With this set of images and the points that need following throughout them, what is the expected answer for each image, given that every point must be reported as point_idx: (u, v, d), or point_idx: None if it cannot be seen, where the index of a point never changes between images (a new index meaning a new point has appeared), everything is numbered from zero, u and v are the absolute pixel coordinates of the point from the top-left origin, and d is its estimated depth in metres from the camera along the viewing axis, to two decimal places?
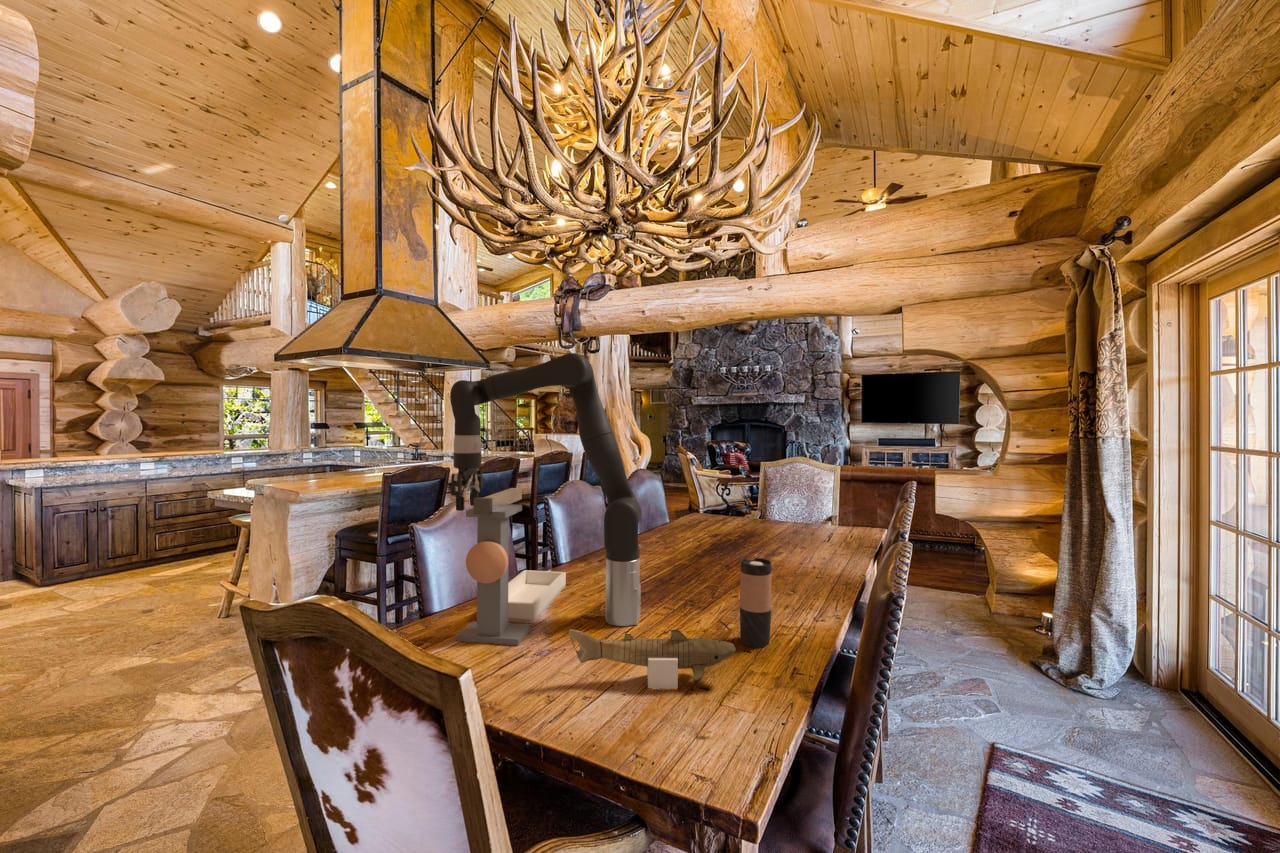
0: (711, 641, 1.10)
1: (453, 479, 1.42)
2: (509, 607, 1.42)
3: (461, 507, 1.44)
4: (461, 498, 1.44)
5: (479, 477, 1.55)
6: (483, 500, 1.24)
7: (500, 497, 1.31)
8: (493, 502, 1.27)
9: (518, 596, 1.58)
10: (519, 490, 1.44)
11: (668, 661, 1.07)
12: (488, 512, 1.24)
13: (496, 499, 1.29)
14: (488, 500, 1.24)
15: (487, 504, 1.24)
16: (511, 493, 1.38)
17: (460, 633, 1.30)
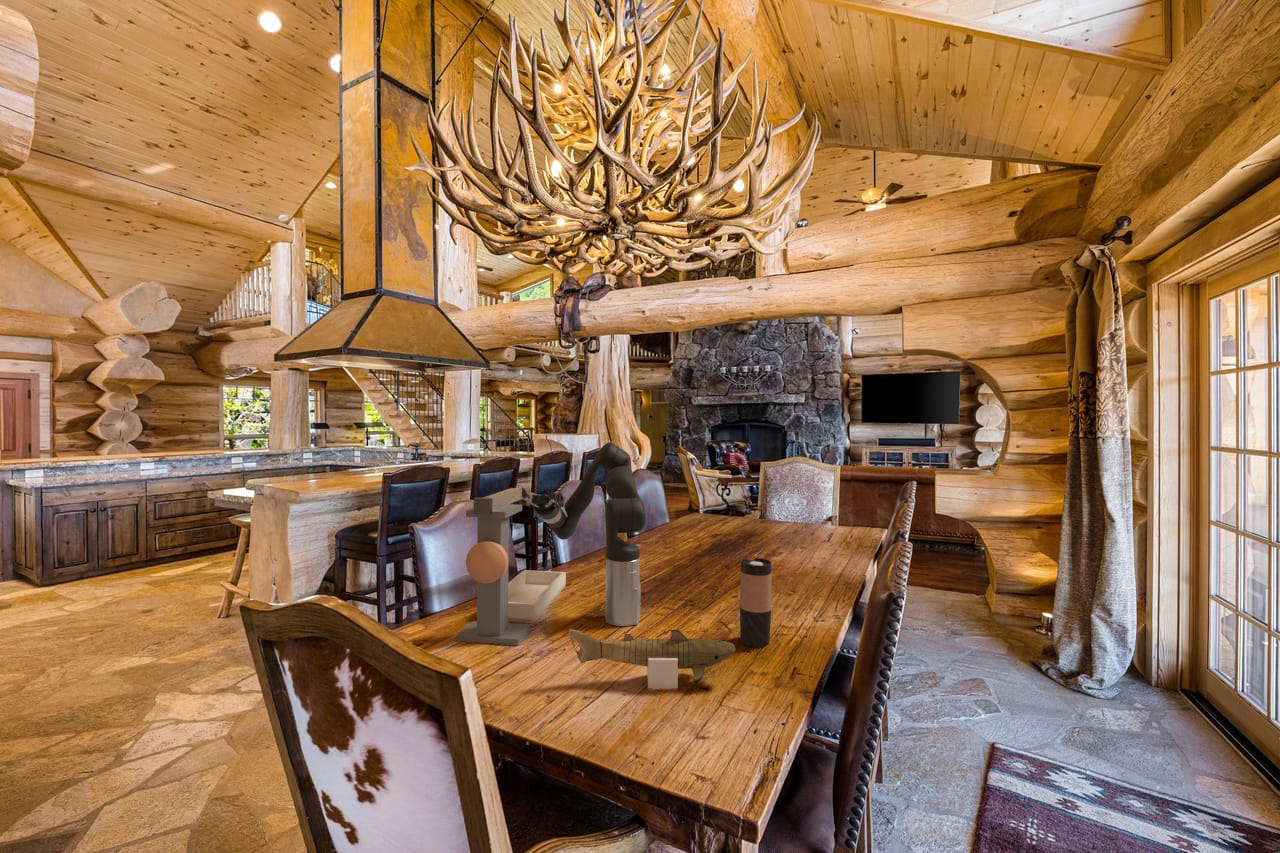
0: (711, 641, 1.10)
1: None
2: (509, 607, 1.42)
3: None
4: None
5: None
6: (483, 500, 1.24)
7: (500, 497, 1.31)
8: (493, 502, 1.27)
9: (518, 596, 1.58)
10: (519, 490, 1.44)
11: (668, 661, 1.07)
12: (488, 512, 1.24)
13: (496, 499, 1.29)
14: (488, 500, 1.24)
15: (487, 504, 1.24)
16: (511, 493, 1.38)
17: (460, 633, 1.30)
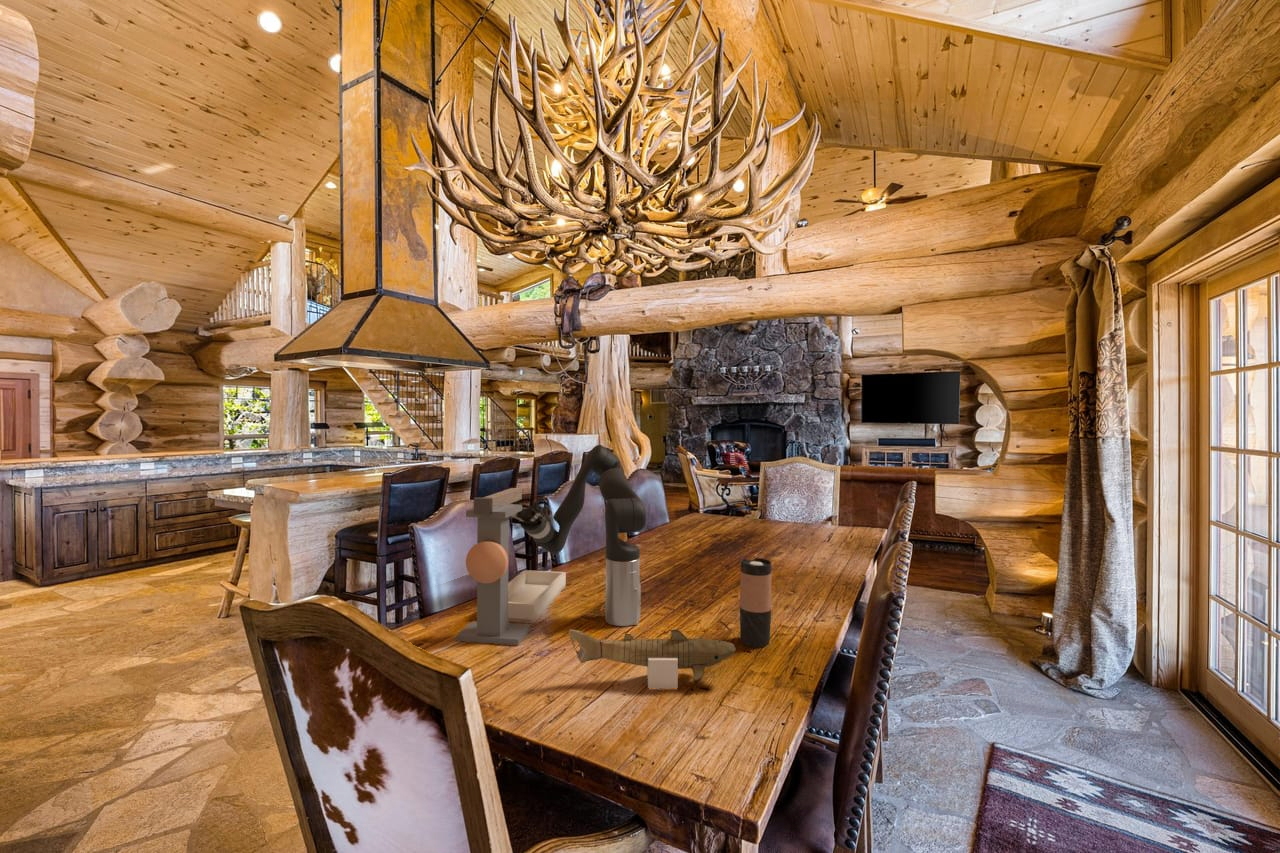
0: (711, 641, 1.10)
1: None
2: (509, 607, 1.42)
3: None
4: None
5: None
6: (483, 500, 1.24)
7: (500, 497, 1.31)
8: (493, 502, 1.27)
9: (518, 596, 1.58)
10: (519, 490, 1.44)
11: (668, 661, 1.07)
12: (488, 512, 1.24)
13: (496, 499, 1.29)
14: (488, 500, 1.24)
15: (487, 504, 1.24)
16: (511, 493, 1.38)
17: (460, 633, 1.30)
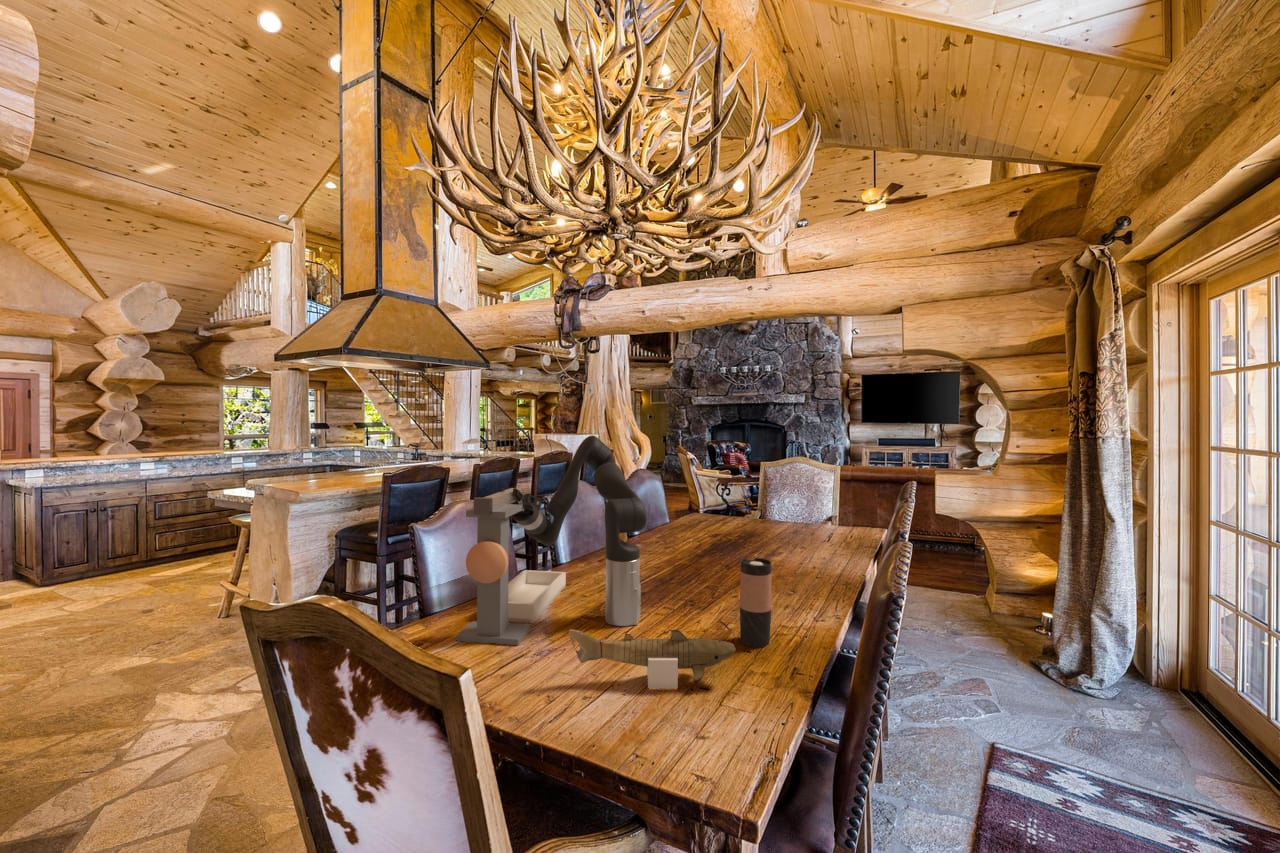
0: (711, 641, 1.10)
1: None
2: (509, 607, 1.42)
3: None
4: None
5: None
6: (483, 500, 1.24)
7: (500, 497, 1.31)
8: (493, 502, 1.27)
9: (518, 596, 1.58)
10: (519, 490, 1.44)
11: (668, 661, 1.07)
12: (488, 512, 1.24)
13: (496, 499, 1.29)
14: (488, 500, 1.24)
15: (487, 504, 1.24)
16: (511, 493, 1.38)
17: (460, 633, 1.30)
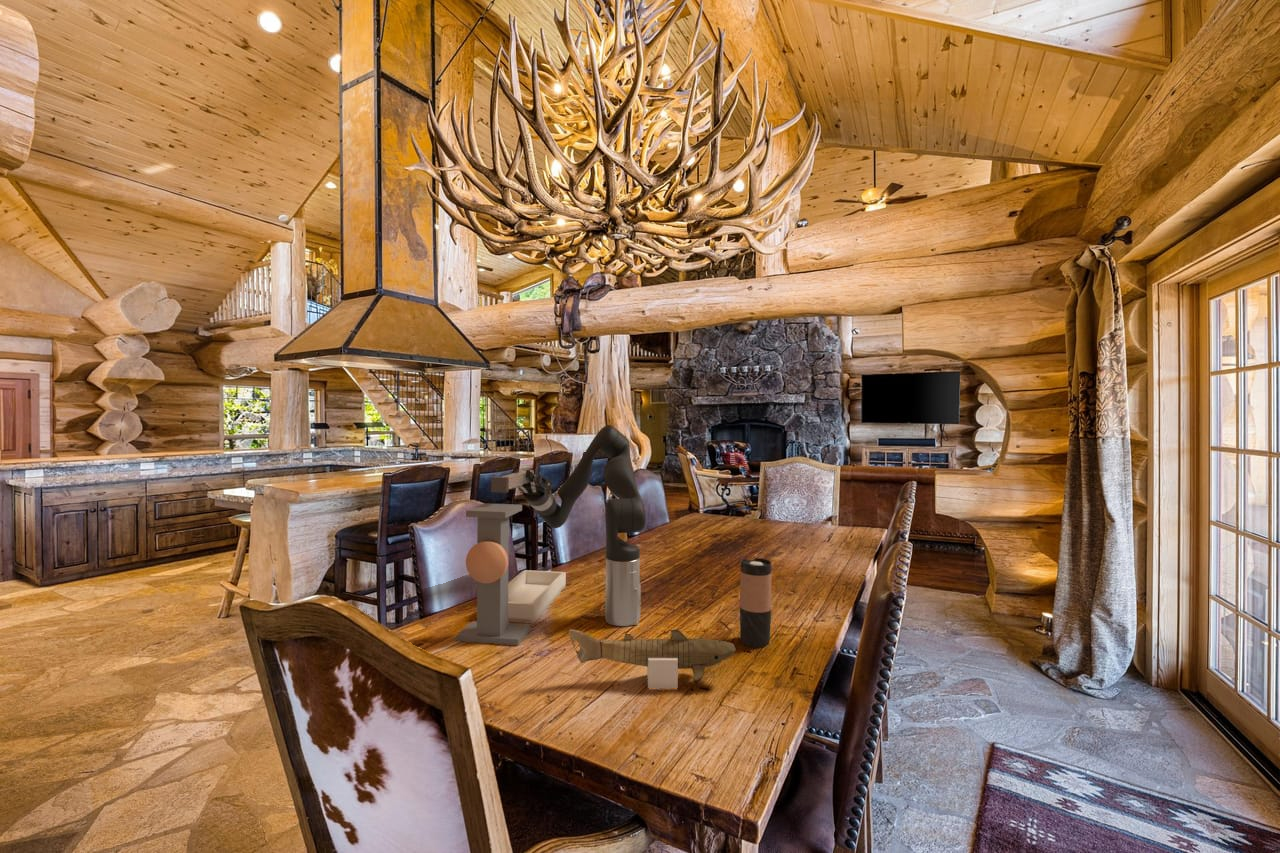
0: (711, 641, 1.10)
1: None
2: (509, 607, 1.42)
3: None
4: None
5: None
6: (500, 479, 1.34)
7: (515, 477, 1.41)
8: (509, 481, 1.37)
9: (518, 596, 1.58)
10: (532, 472, 1.54)
11: (668, 661, 1.07)
12: (505, 490, 1.34)
13: (511, 479, 1.39)
14: (505, 479, 1.34)
15: (504, 482, 1.34)
16: (524, 474, 1.48)
17: (460, 633, 1.30)
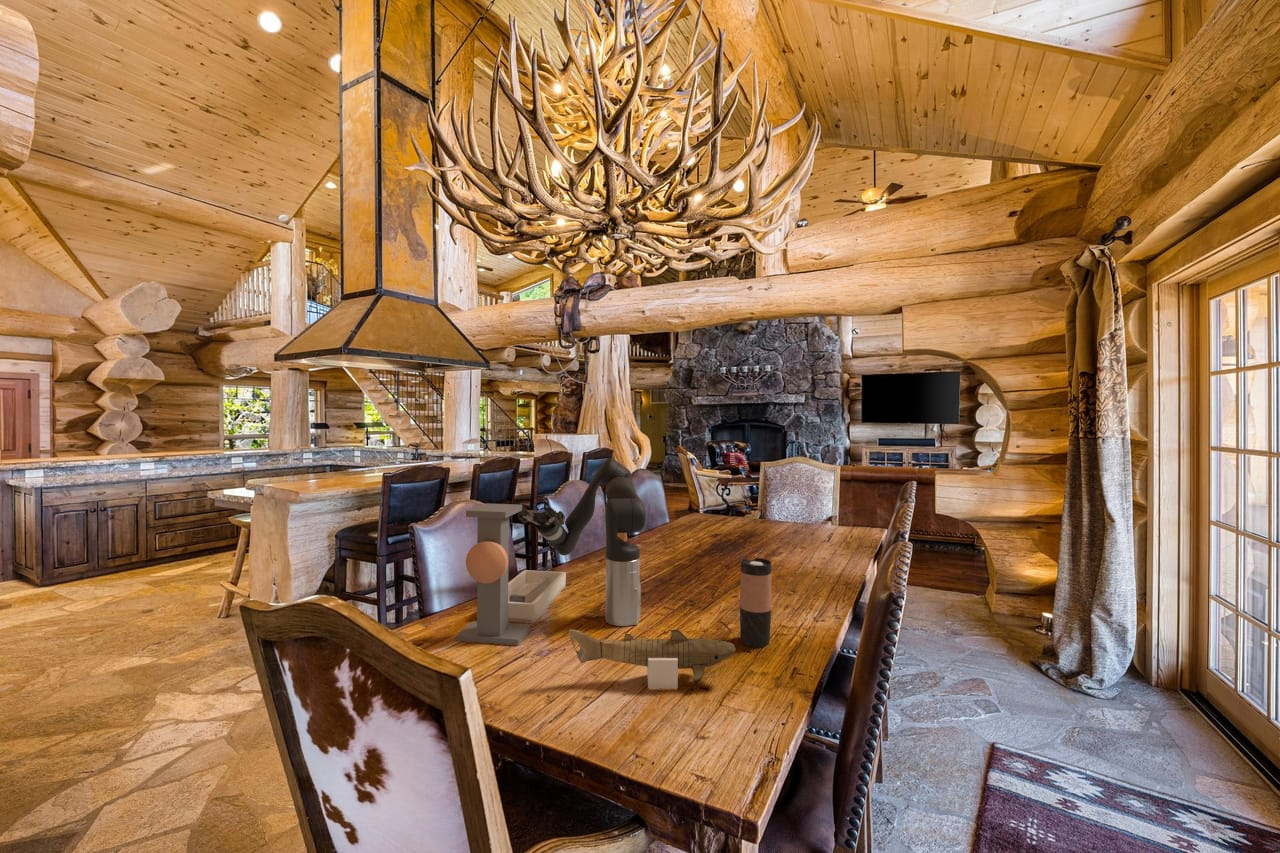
0: (711, 641, 1.10)
1: None
2: (509, 607, 1.42)
3: None
4: None
5: None
6: (517, 598, 1.47)
7: (531, 592, 1.54)
8: (525, 598, 1.50)
9: None
10: (547, 579, 1.67)
11: (668, 661, 1.07)
12: None
13: (528, 595, 1.52)
14: (521, 598, 1.47)
15: None
16: (540, 584, 1.61)
17: (460, 633, 1.30)
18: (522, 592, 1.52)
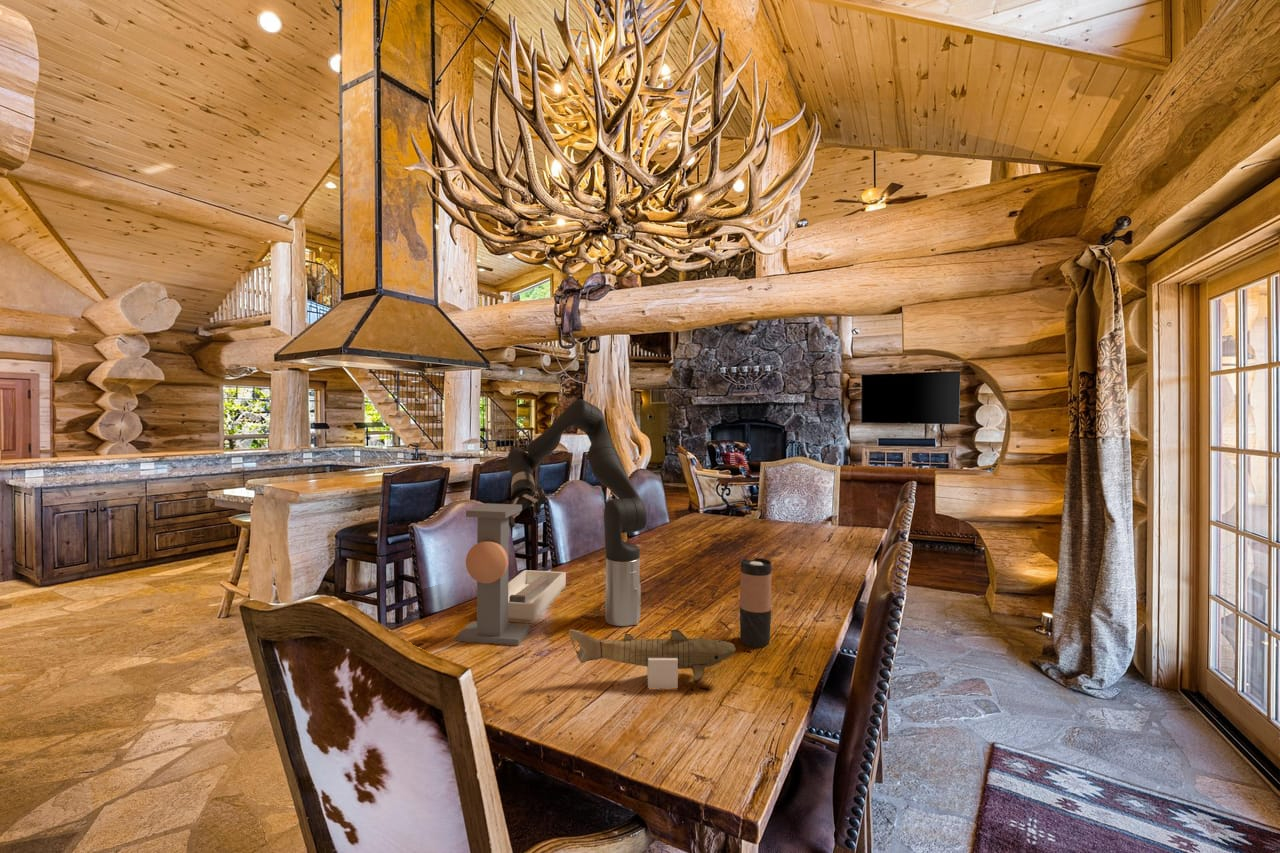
0: (711, 641, 1.10)
1: None
2: (509, 607, 1.42)
3: None
4: None
5: None
6: (517, 598, 1.47)
7: (531, 592, 1.54)
8: (525, 598, 1.50)
9: None
10: (547, 579, 1.67)
11: (668, 661, 1.07)
12: None
13: (528, 595, 1.52)
14: (521, 598, 1.47)
15: None
16: (540, 584, 1.61)
17: (460, 633, 1.30)
18: (522, 592, 1.52)
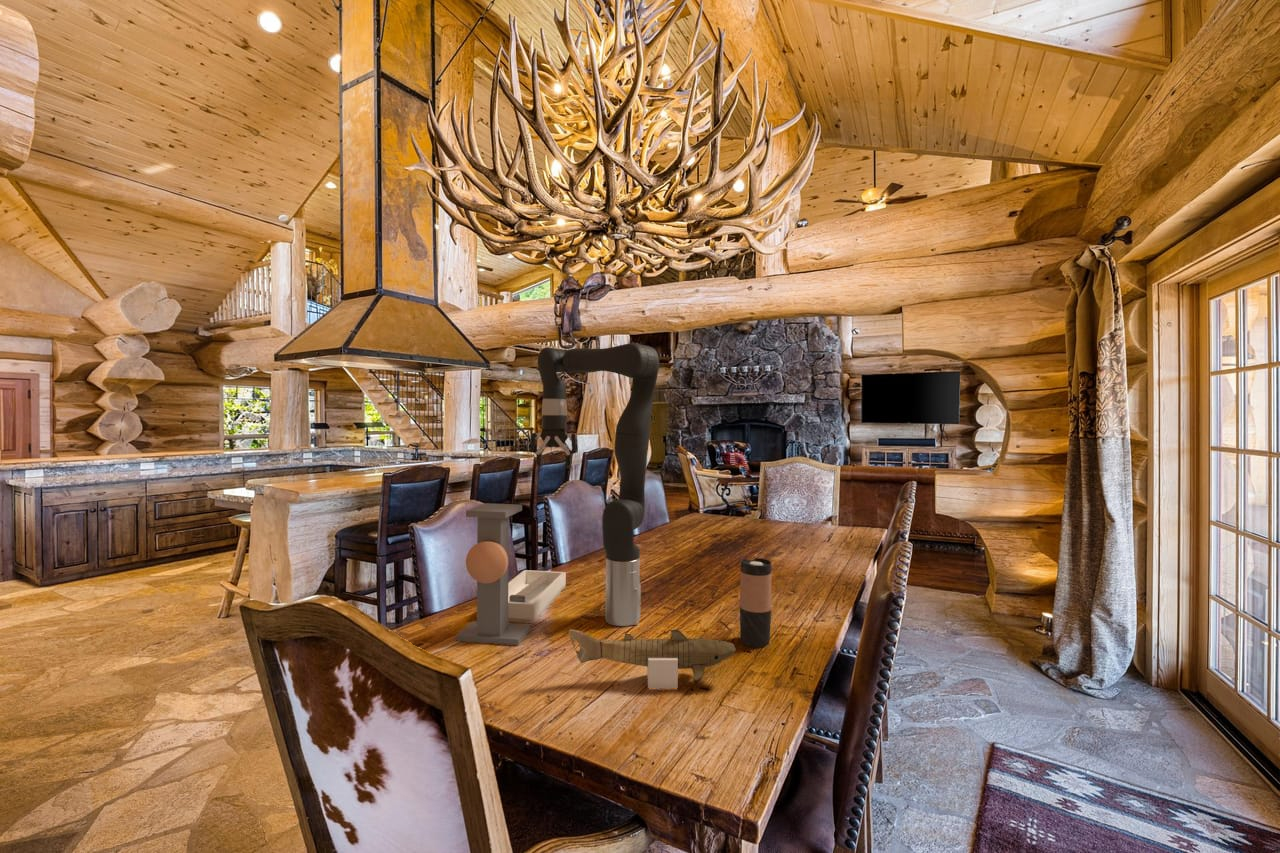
0: (711, 641, 1.10)
1: None
2: (509, 607, 1.42)
3: (537, 463, 1.60)
4: (537, 455, 1.60)
5: None
6: (517, 598, 1.47)
7: (531, 592, 1.54)
8: (525, 598, 1.50)
9: None
10: (547, 579, 1.67)
11: (668, 661, 1.07)
12: None
13: (528, 595, 1.52)
14: (521, 598, 1.47)
15: None
16: (540, 584, 1.61)
17: (460, 633, 1.30)
18: (522, 592, 1.52)
